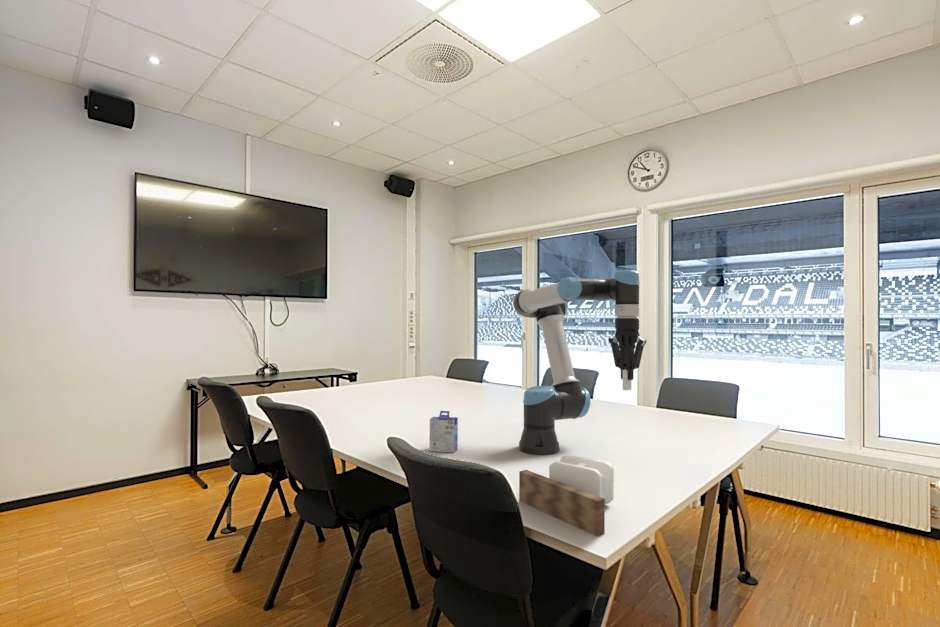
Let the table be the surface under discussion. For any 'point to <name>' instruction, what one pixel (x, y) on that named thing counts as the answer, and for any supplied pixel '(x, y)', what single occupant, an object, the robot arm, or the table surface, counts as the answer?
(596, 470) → the tooth protector case
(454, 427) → the ink cartridge box
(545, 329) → the robot arm
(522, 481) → the walnut board
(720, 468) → the table surface
